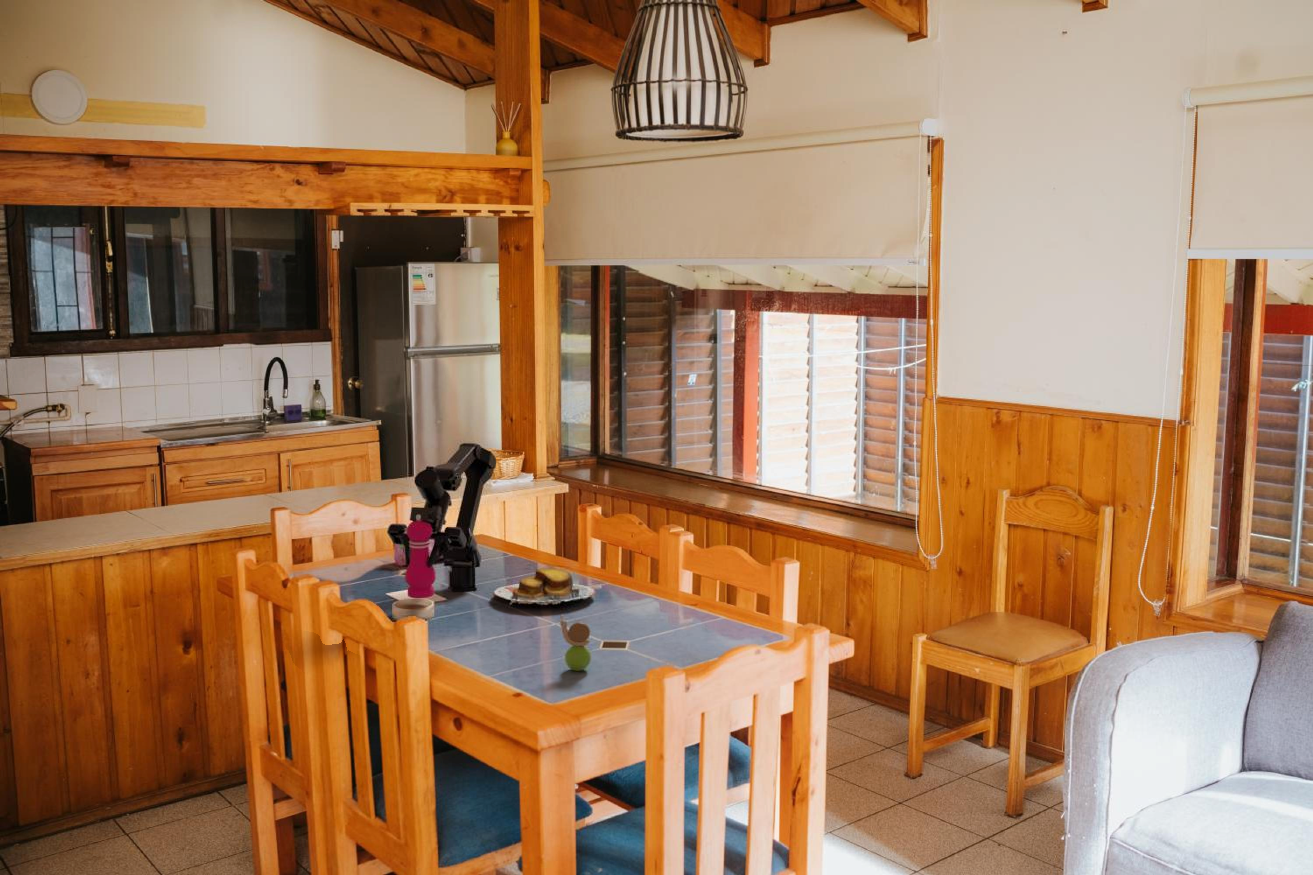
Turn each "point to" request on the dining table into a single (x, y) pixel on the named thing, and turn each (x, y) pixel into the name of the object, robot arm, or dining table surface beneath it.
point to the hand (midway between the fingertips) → (417, 565)
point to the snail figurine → (576, 645)
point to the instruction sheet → (404, 595)
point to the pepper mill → (419, 560)
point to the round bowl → (413, 608)
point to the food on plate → (545, 588)
